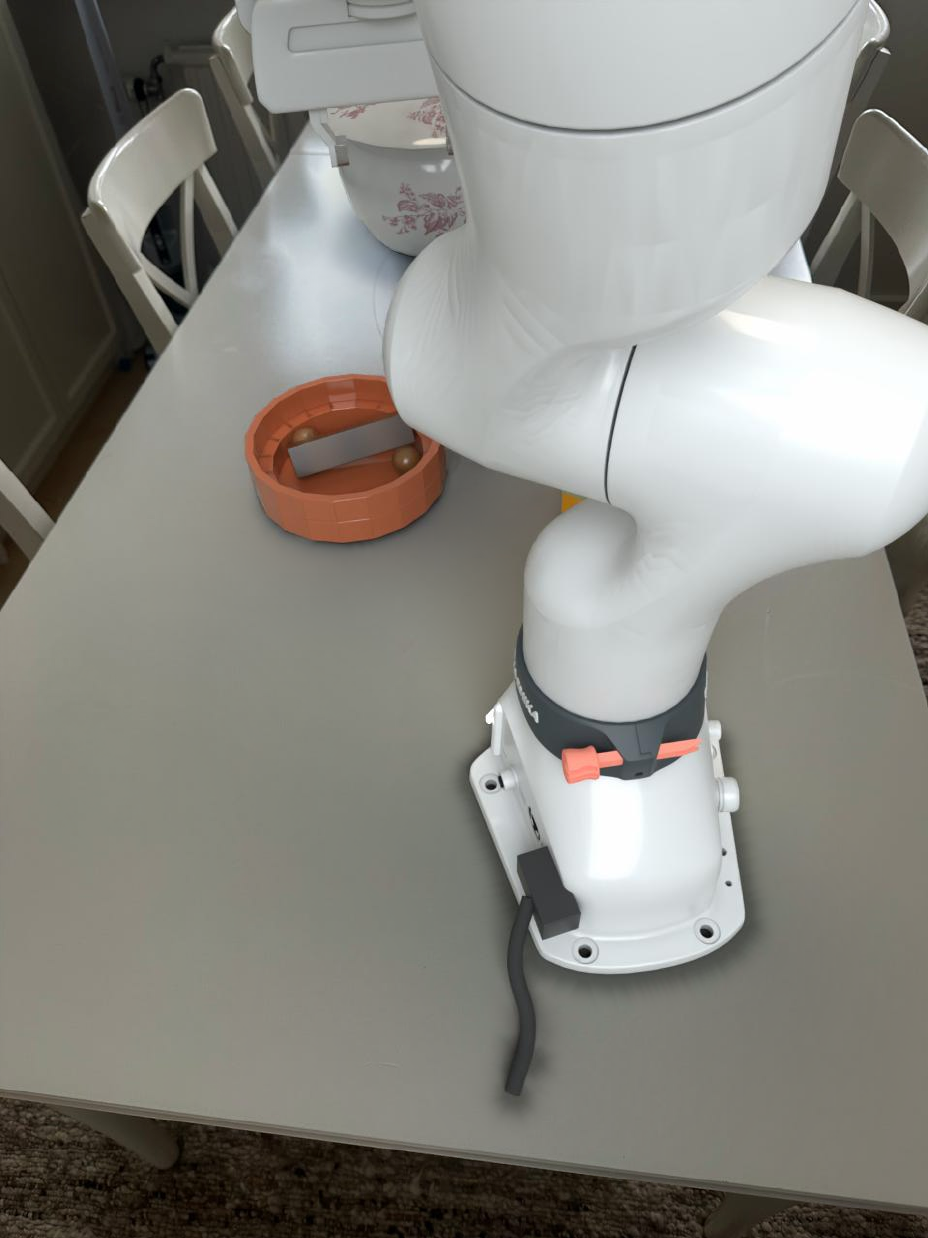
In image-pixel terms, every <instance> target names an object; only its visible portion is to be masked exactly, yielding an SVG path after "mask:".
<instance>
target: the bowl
mask: <svg viewBox="0 0 928 1238" xmlns="http://www.w3.org/2000/svg"><path fill="white" fill-rule="evenodd" d="M395 411H397V409H396V407H395V405H394V403H393V401H392V398H391V395H390V392H389V389H388V386H387V382H386V378H385V375H377V374H363V373H348V374H340V375H331V376H324V377H320V378H318V379H314V380H311V381H308V382H305V383H301V384H299V385H296V386H293V387H292V388H291V389H288V390H287V391H285V392H283V393H282V394H280V395H278V396H276V397H275V398H273V399H272V400H271V401H269V402H268V403H267V404H266V405H265V406H264V407H263V408H262V409H261V410H260V411H259V412H258V413H257V414H256V415H255V416H254V418H253V420H252V422H251V424H250V426H249V428H248V430H247V432H246V433H245V436H244V437H245V438H244V439H245V440H244V441H245V442H244V458H245V460H246V464H247V467H248V471H249V473H250V477H251V480H252V484H253V487H254V490H255V493H256V497H257V499H258V502H259V503H260V505H261V507H262V508H263V510H264V513H265V515H266V516H267V517H268V518H269V519H271V520H272V521H273V522H274V523H275V524H277V525H278V526H279V527H280V528H282V529H283V530H284V531H286V532H289V533H291V534H293V535H296V536H300V537H302V538H305V539H307V540H311V541H316V542H317V541H318V542H326V543H327V542H329V543H337V544H340V543H341V544H344V543H351V542H360V541H367V540H368V541H369V540H374V539H377V538H381V537H382V536H385V535H388V534H390V533H393V532H396V531H399V530H402V529H403V528H405V527H407V526H408V525H409V524H411V523H413V522H414V521H415V520H417V519H419V518H420V517H421V516H423V515H424V514H426V513H427V512H428V511H429V509H430V508H431V507H432V505H433V504H434V503H435V502H436V500H437V498H439V496H440V495H441V493H442V491H443V488H444V485H445V481H446V477H447V473H448V469H447V458H446V457H447V456H446V447H445V446H443V445H441V444H440V443H438V442H436V441H434V440H433V439H431V438H429V437H427V436H425V435H424V434H422V433H420V432H418V431H417V430H415V429H413V428H412V430H413V434H414V437H415V440H416V442H414V443H411V444H407V445H404V446H412V447H414V448H416V449H417V450H418V451H419V452H420V454H421V456H422V459H421V460H420V462H419V463H418V464H417V465H416V467H414V468H413V469H411V470H410V471H408V472H407V473H405V474H404V475H402V476H401V475H399V474H398V473H396V472H395V470H394V469H393V467H392V462H391V461H392V455H393V453H394V452H395V451H396V450H397V449H398V448H399V447H398V448H395V449H391V450H388V451H385V452H382V453H379V454H375V455H372V456H369V457H366V458H363V459H360V460H356V461H353V462H350V463H347V464H344V465H340V466H337V467H334V468H331V469H328V470H324V471H321V472H318V473H315V474H312V475H308V476H305V477H302V478H299V479H297V476H296V473H295V471H294V468H293V465H292V462H291V459H290V457H289V454H288V451H287V445H288V444H291V438H292V436H293V434H294V433H295V432H296V431H297V430H298V429H300V428H306V427H307V428H311V429H313V430H315V431H316V432H317V433H318V434H319V435H320V434H324V433H327V432H330V431H333V430H336V429H340V428H343V427H346V426H349V425H353V424H356V423H359V422H362V421H366V420H369V419H372V418H375V417H378V416H382V415H385V414H388V413H391V412H395Z"/></svg>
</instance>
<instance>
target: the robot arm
mask: <svg viewBox="0 0 928 1238" xmlns="http://www.w3.org/2000/svg"><path fill="white" fill-rule="evenodd" d="M233 1H234V5H235V11H236V15H237V19H238V21H239V24H240V25H241V27H242V29H243V30H244V31H245V32H246V33H247V34H248V35H250V36H251V52H252V63H253V64H252V66H253V74H254V82H255V88H256V89H255V90H256V95H257V99H258V101H259V103H260V104H261V105H262V106H263V107H264V108H265V109H266V110H267V111H268V112H269V113H271V114H273V115H275V114H276V115H279V114H287V113H296V112H307V111H308V116H309V117H308V118H309V122H310V123H309V124H310V126H311V127H312V129H313V130H314V131H315V133H316V134H317V136H318V137H319V138H320V140H321V141H322V142H323V143H324V144H325V146H326V147H328V152H329V160H330V165H331V169H333V168H338V167H342V166H350V164H349V156H348V149H347V142H346V135H345V136H340V135H336V134H335V132H334V131H332V130H331V129H330V127H329V126H328V124H327V123H328V113H327V109H328V108H338V107H348V106H358V105H368V104H378V103H388V102H398V101H408V100H417V99H427V98H437V97H440V101H441V105H442V109H443V113H444V117H445V121H446V125H445V134H446V137H447V138H446V149H447V152H448V156H449V155H454V158H455V162H456V166H457V171H458V175H459V180H460V184H461V189H462V194H463V199H464V204H465V210H466V223H465V224H464V225H463V226H461V227H459V228H457V229H455V230H452V231H450V232H447V233H444V234H442V235H440V236H439V237H437V238H436V239H435V240H433V241H432V242H431V243H430V244H429V245H428V246H427V247H426V248H424V249H423V250H422V251H421V252H420V254H419V255H418V256H415V258H414V259H413V260H412V262H410V264H409V265H408V267H407V268H406V270H405V271H404V273H403V274H402V276H401V278H400V279H399V281H398V283H397V285H396V287H395V289H394V291H393V293H392V296H391V299H390V301H389V305H388V308H387V311H386V314H385V319H384V325H383V330H382V331H383V332H382V344H381V345H382V346H381V353H382V357H381V358H382V365H383V373H384V376H385V378H386V382H387V386H388V389H389V392H390V395H391V398H392V401H393V403H394V405H395V407H396V409H397V411H398V413H399V415H400V417H401V418H402V420H403V421H404V422H405V423H406V424H407V425H408V426H410V427H411V428H413V429H415V430H417V431H418V432H420V433H422V434H424V435H425V436H427V437H429V438H431V439H433V440H434V441H436V442H438V443H440V444H441V445H443V446H445V448H446V449H449V450H451V451H453V452H454V453H457V454H459V455H460V456H462V457H465V458H466V459H468V460H470V461H473V462H474V463H477V464H478V465H480V466H482V467H485V468H486V469H489V470H492V471H496V472H498V473H501V474H506V475H509V476H512V477H516V478H520V479H523V480H525V481H529V482H533V483H537V484H540V485H543V486H547V487H550V488H553V489H557V490H560V491H562V490H563V491H567V492H570V493H573V494H577V495H580V496H584V497H587V499H585V500H583V501H581V502H579V503H577V504H576V505H574V506H572V507H571V508H569V509H567V510H566V511H564V512H563V513H559V514H558V515H557V516H555V517H554V518H553V519H551V521H549V522H548V523H547V524H546V525H545V527H543V529H542V530H541V531H540V532H539V534H538V535H537V536H536V538H535V540H534V542H533V543H532V545H531V547H530V549H529V552H528V555H527V557H526V560H525V564H524V569H523V605H522V606H523V611H522V613H523V614H522V623H521V625H520V627H519V630H518V634H517V638H516V644H515V646H514V652H513V674H514V679H513V680H512V682H511V683H510V685H509V686H508V687H507V688H506V690H505V691H504V692H503V694H502V695H501V696H500V697H499V698H498V699H497V701H496V703H495V704H494V705H493V708H492V709H491V710H490V711H489V712H488V714H486V716H485V721H486V723H487V724H491V739H490V746H489V747H488V748H487V749H485V750H484V751H483V752H482V753H480V754H479V756H477V757H476V758H475V760H474V761H473V762H472V763H471V765H470V768H469V775H468V779H469V783H470V786H471V789H472V791H473V793H474V796H475V799H476V801H477V803H478V805H479V809H480V811H481V813H482V816H483V818H484V821H485V823H486V825H487V829H488V831H489V834H490V836H491V838H492V841H493V843H494V846H495V848H496V851H497V854H498V856H499V859H500V861H501V863H502V866H503V868H504V871H505V874H506V876H507V878H508V881H509V883H510V886H511V888H512V892H513V894H514V896H515V899H516V901H517V903H518V909H517V911H516V915H515V918H514V921H513V924H512V928H511V931H510V934H509V940H508V945H507V953H506V954H507V956H506V964H507V965H506V967H507V975H508V981H509V985H510V988H511V991H512V992H511V993H512V995H513V998H514V1001H515V1004H516V1006H517V1012H518V1017H519V1038H518V1044H517V1049H516V1052H515V1055H514V1059H513V1061H512V1065H511V1068H510V1070H509V1073H508V1077H507V1079H506V1083H505V1086H504V1092H505V1093H507V1094H510V1095H511V1096H516V1097H520V1096H521V1094H522V1090H523V1086H524V1083H525V1081H526V1077H527V1074H528V1071H529V1068H530V1065H531V1062H532V1057H533V1055H534V1054H533V1053H534V1049H535V1042H536V1030H537V1025H536V1024H537V1023H536V1013H535V1008H534V1003H533V1001H532V997H531V994H530V991H529V987H528V984H527V981H526V978H525V971H524V962H523V961H524V960H523V957H524V947H525V943H526V938H527V934H528V931H529V933H530V936H531V939H532V941H533V943H534V945H535V948H536V950H537V952H538V953H539V955H540V956H541V957H542V958H543V959H544V960H546V961H548V962H551V963H553V964H554V965H556V966H560V967H562V968H565V969H569V970H572V971H574V972H580V973H581V972H582V973H587V974H597V975H622V974H623V975H625V974H626V975H627V974H635V973H643V972H650V971H651V972H652V971H657V970H662V969H666V968H671V967H676V966H679V965H682V964H685V963H689V962H692V961H695V960H698V959H700V958H703V957H704V956H707V955H709V954H711V953H713V952H714V951H716V950H718V949H720V948H722V947H723V946H724V945H725V944H727V943H728V942H729V941H731V940H732V939H733V937H735V936H736V934H737V933H738V932H739V931H740V930H741V929H742V928H743V926H744V923H745V919H746V909H745V901H744V895H743V888H742V887H743V886H742V882H741V881H742V880H741V874H740V869H739V863H738V861H739V860H738V855H737V849H736V843H735V842H736V841H735V836H734V830H733V824H732V823H733V822H732V818H731V813H735V812H737V811H738V810H739V808H740V788H739V783H738V781H737V779H736V777H732V776H725V773H724V766H723V760H722V754H721V753H722V752H721V747H720V740H721V739H722V724H721V721H720V720H718V719H709V718H708V709H707V702H706V699H707V698H708V681H709V679H708V673H709V672H708V670H707V669H708V665H707V664H708V656H707V648H708V646H709V643H710V641H711V637H712V636H713V633H714V630H715V628H716V626H717V624H718V621H719V619H720V617H721V615H722V613H723V611H724V610H725V608H726V607H727V605H728V604H729V603H731V601H733V600H734V599H735V598H736V597H738V596H740V595H741V594H742V593H743V592H745V591H746V590H748V589H750V588H752V587H754V586H755V585H758V584H759V583H761V582H763V581H766V580H768V579H770V578H772V577H775V576H778V575H780V574H782V573H785V572H788V571H792V570H795V569H798V568H799V569H800V568H802V567H806V566H810V565H815V564H821V563H825V562H826V563H827V562H833V561H841V560H850V559H860V558H863V557H866V556H868V555H870V554H873V553H876V552H878V551H879V550H881V549H883V548H884V547H886V546H888V545H890V544H892V543H893V542H895V541H896V540H898V539H899V538H901V537H902V536H904V535H906V534H907V533H908V532H909V531H910V530H912V529H913V528H914V527H915V526H916V525H917V524H918V523H919V522H921V521H922V520H923V519H924V518H925V517H926V516H927V514H928V324H925V323H924V322H922V321H919V320H917V319H915V318H912V317H910V316H909V315H906V314H903V313H902V312H900V311H897V310H895V309H892V308H891V307H888V306H885V305H883V304H880V303H877V302H875V301H872V300H870V299H867V298H865V297H862V296H861V295H860V296H859V295H857V294H855V293H853V292H849V291H847V290H845V289H843V288H840V287H835V286H830V285H825V284H819V283H814V282H809V281H804V280H799V279H794V278H790V277H789V278H788V277H782V276H778V275H774V274H773V275H772V274H770V273H771V271H772V270H773V269H775V268H776V266H777V265H778V264H780V262H781V261H782V260H784V258H786V256H787V255H788V254H789V253H790V251H791V250H792V249H793V248H794V246H795V245H796V244H797V243H798V241H799V240H800V239H801V237H802V236H803V234H804V233H805V232H806V230H807V228H808V227H809V225H810V224H811V222H812V220H813V218H814V216H815V214H816V213H817V211H818V209H819V207H820V204H821V203H822V200H823V198H824V196H825V193H826V189H827V187H828V183H829V179H830V175H831V170H832V166H833V162H834V157H835V153H836V148H837V144H838V140H839V136H840V131H841V126H842V123H843V118H844V113H845V109H846V105H847V101H848V96H849V91H850V88H851V83H852V80H853V75H854V71H855V65H856V60H857V57H858V54H859V53H858V52H859V48H860V45H861V41H862V36H863V31H864V27H865V24H866V18H867V15H868V10H869V6H870V1H871V0H233ZM490 785H493V786H495V788H494V789H488V788H487V787H488V786H490ZM703 929H705V930H707V931H709V933H710V935H711V937H705V936H703V935H702V933H701V930H703ZM582 949H587V950H588V951H589V952H590V956H588V957H582V956H581V955H580V953H579V951H580V950H582Z"/></svg>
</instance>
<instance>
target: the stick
mask: <svg viewBox="0 0 928 1238" xmlns="http://www.w3.org/2000/svg"><path fill="white" fill-rule="evenodd" d="M414 442H416V440H415V437H414V434H413V430H412V428H411V427H410V426H408V425H407V424H406V423H405V422H404V421H403V420H402V418H401V417H400V415H399V413H398V411H395V412H391V413H388V414H385V415H382V416H378V417H375V418H372V419H369V420H366V421H362V422H359V423H356V424H353V425H349V426H346V427H343V428H340V429H336V430H333V431H330V432H327V433H324V434H320V435H317V436H314V437H311V438H307V439H304V440H301V441H298V442H295V443H291V444H288V445H287V451H288V454H289V457H290V459H291V462H292V465H293V468H294V471H295V473H296V476H297V479H299V478H302V477H305V476H308V475H312V474H315V473H318V472H321V471H324V470H328V469H331V468H334V467H337V466H340V465H344V464H347V463H350V462H353V461H356V460H360V459H363V458H366V457H369V456H372V455H375V454H379V453H382V452H385V451H388V450H391V449H395V448H398V447H401V446H404V445H407V444H411V443H414Z"/></svg>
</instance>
